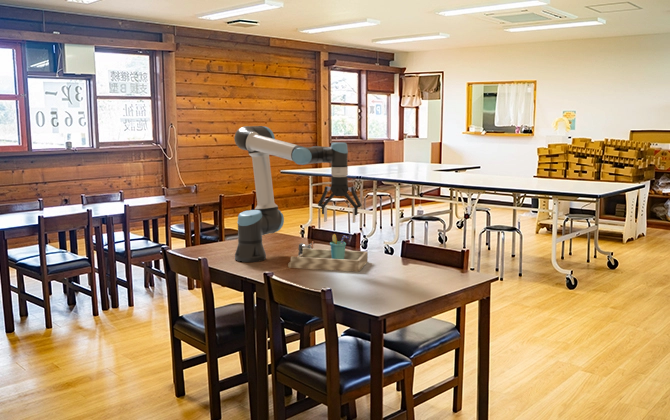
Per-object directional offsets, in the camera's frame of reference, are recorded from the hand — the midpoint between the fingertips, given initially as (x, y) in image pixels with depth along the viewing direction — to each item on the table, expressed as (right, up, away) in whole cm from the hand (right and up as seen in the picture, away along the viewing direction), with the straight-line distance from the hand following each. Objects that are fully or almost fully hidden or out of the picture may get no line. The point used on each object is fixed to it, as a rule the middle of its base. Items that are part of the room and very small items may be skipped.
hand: (339, 221), depth 291 cm
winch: (-17, -17, +23) cm, 34 cm away
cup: (0, -21, +3) cm, 21 cm away
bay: (-5, -20, +4) cm, 21 cm away
